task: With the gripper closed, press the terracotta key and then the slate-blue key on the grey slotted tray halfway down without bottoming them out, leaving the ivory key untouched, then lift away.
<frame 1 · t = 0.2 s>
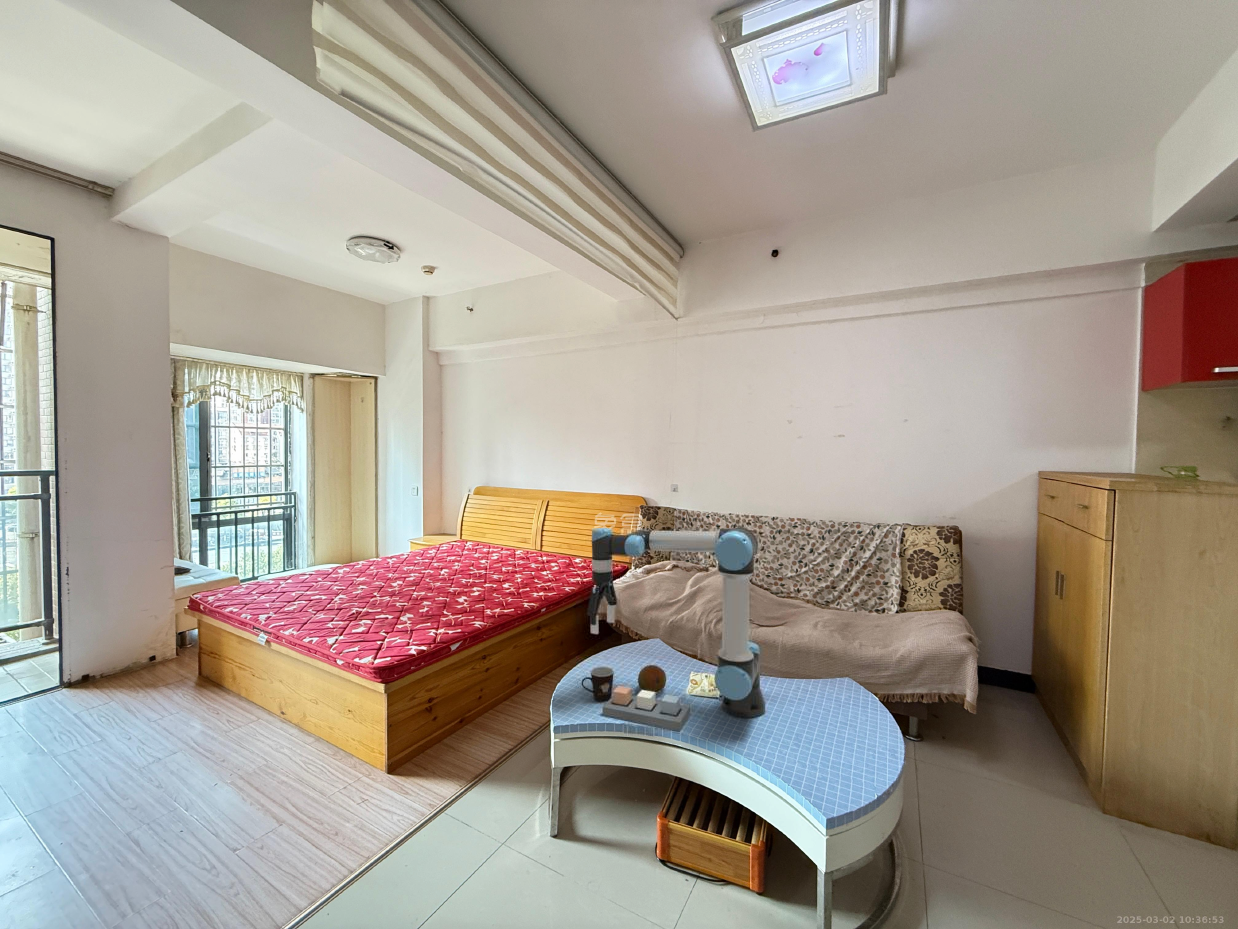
hand: (603, 627, 186), 27 cm above the table, fingers open, 13 cm apart
key ivory: (646, 699, 175), point 5 cm above the table, slide at 0.0 cm
coffee mug: (598, 698, 188), on the table
grey slotted tray: (646, 715, 175), on the table
key slate: (671, 704, 171), point 5 cm above the table, slide at 0.0 cm
key terracotta: (622, 695, 178), point 5 cm above the table, slide at 0.0 cm
fruit: (651, 691, 193), on the table
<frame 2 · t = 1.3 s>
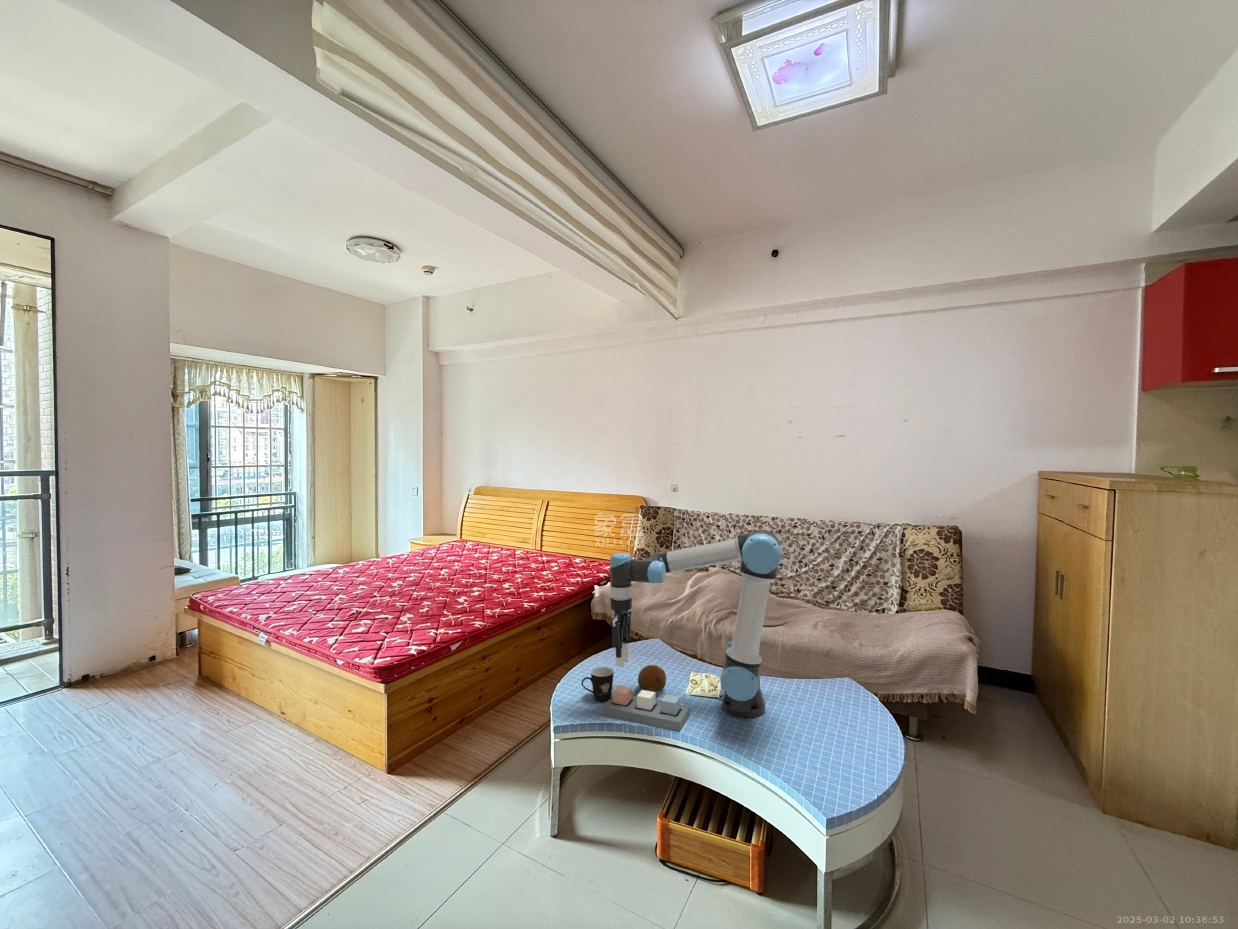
hand: (622, 663, 178), 17 cm above the table, fingers open, 3 cm apart
nothing on the table moved.
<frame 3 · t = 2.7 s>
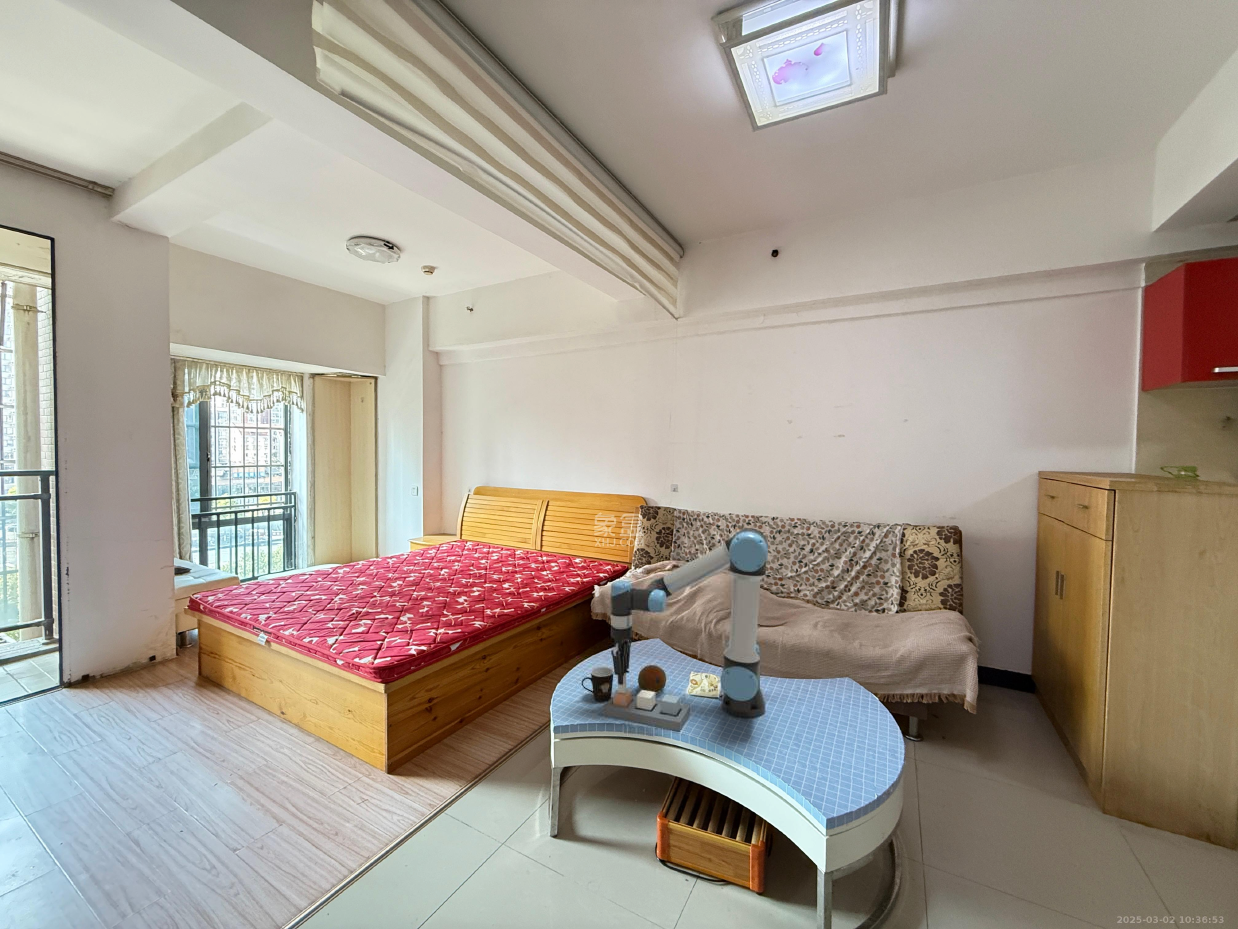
hand: (622, 692, 178), 6 cm above the table, fingers closed
key terracotta: (622, 698, 178), point 4 cm above the table, slide at 1.1 cm, touching gripper
everything else where it was.
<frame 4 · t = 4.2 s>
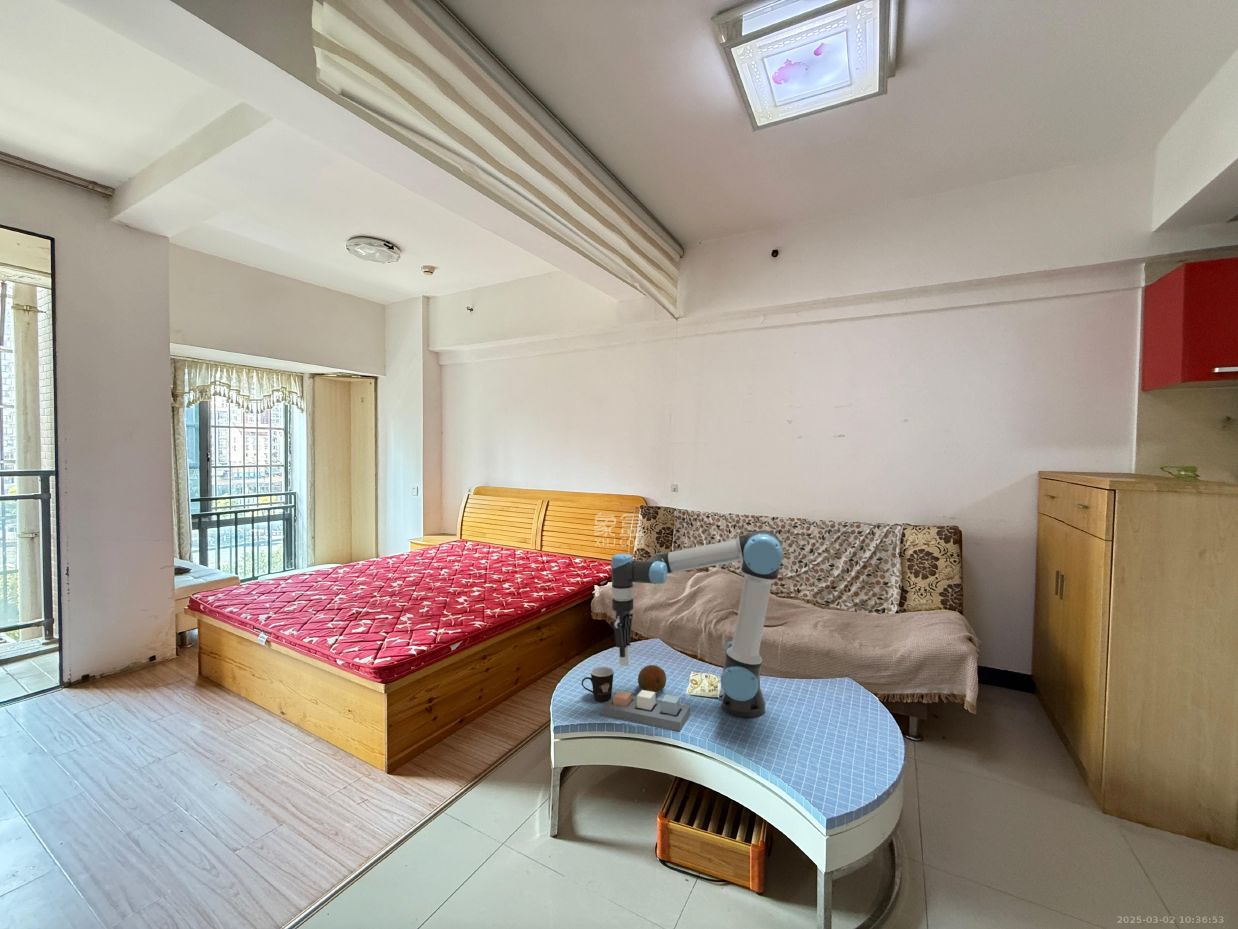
hand: (624, 665, 178), 16 cm above the table, fingers closed
key terracotta: (622, 700, 178), point 4 cm above the table, slide at 1.8 cm
everything else where it was.
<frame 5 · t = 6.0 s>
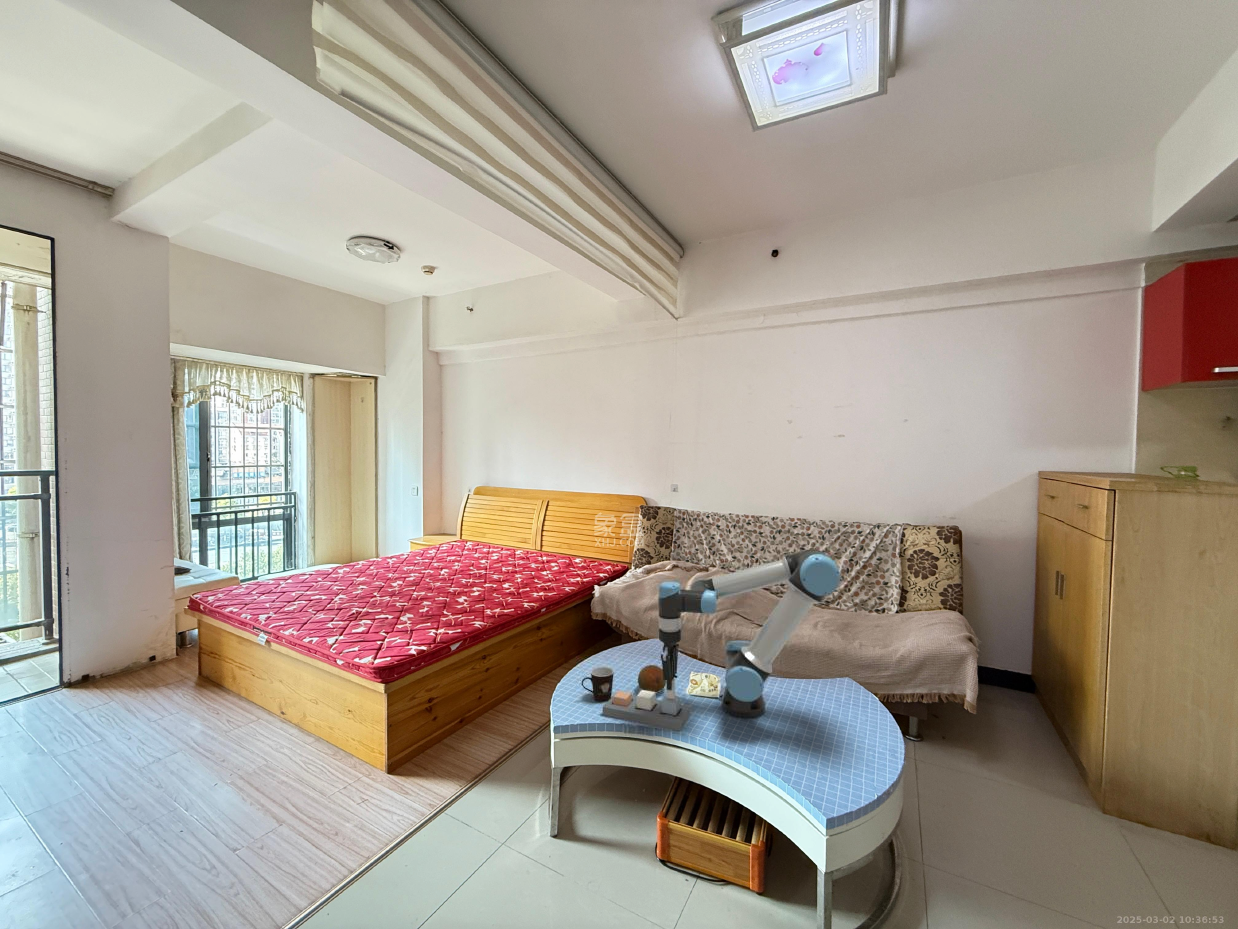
hand: (670, 697, 171), 8 cm above the table, fingers closed
key slate: (671, 704, 171), point 5 cm above the table, slide at 0.0 cm, touching gripper
everything else where it was.
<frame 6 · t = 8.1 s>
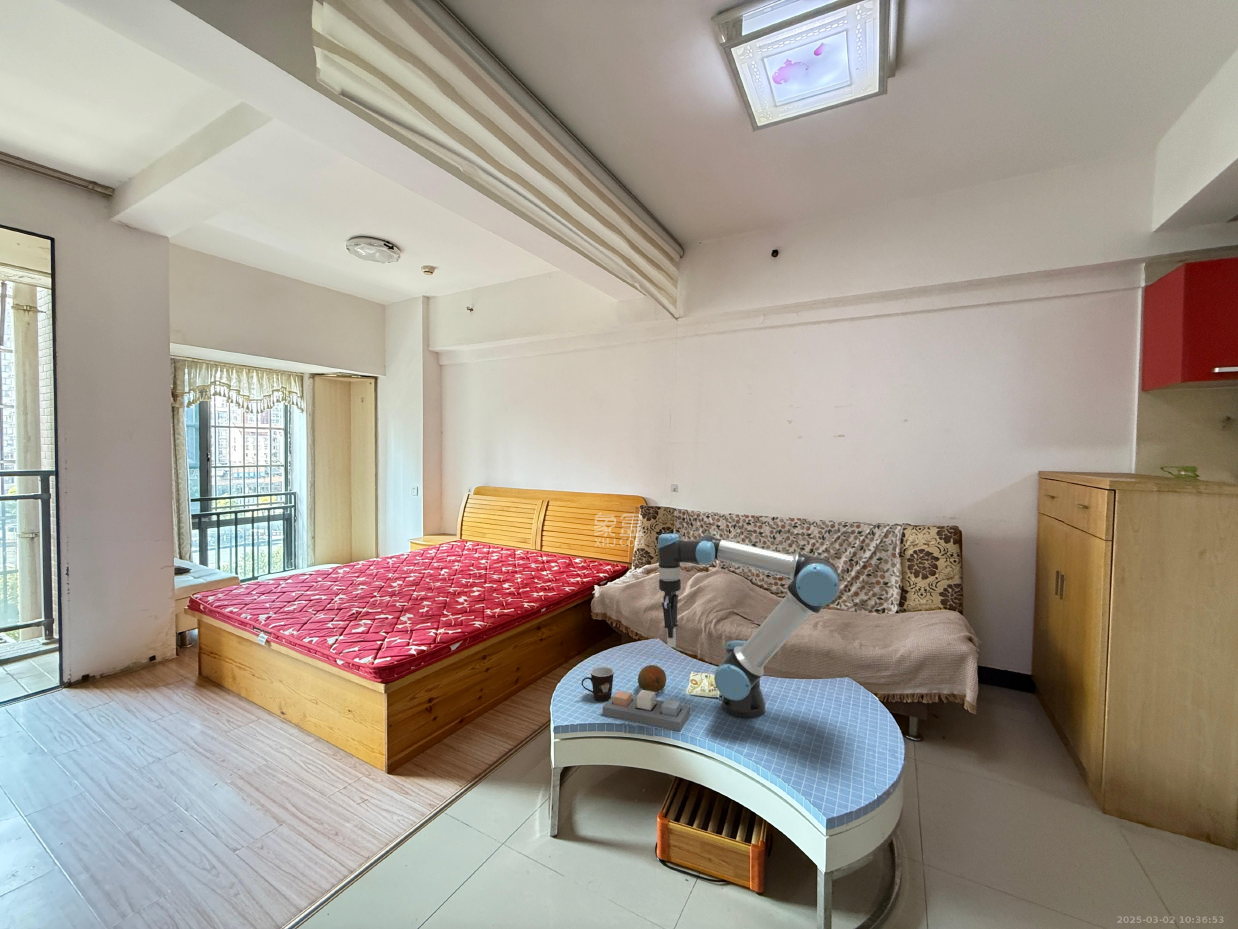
hand: (671, 646, 176), 23 cm above the table, fingers closed
key slate: (671, 709, 171), point 4 cm above the table, slide at 1.8 cm
everything else where it was.
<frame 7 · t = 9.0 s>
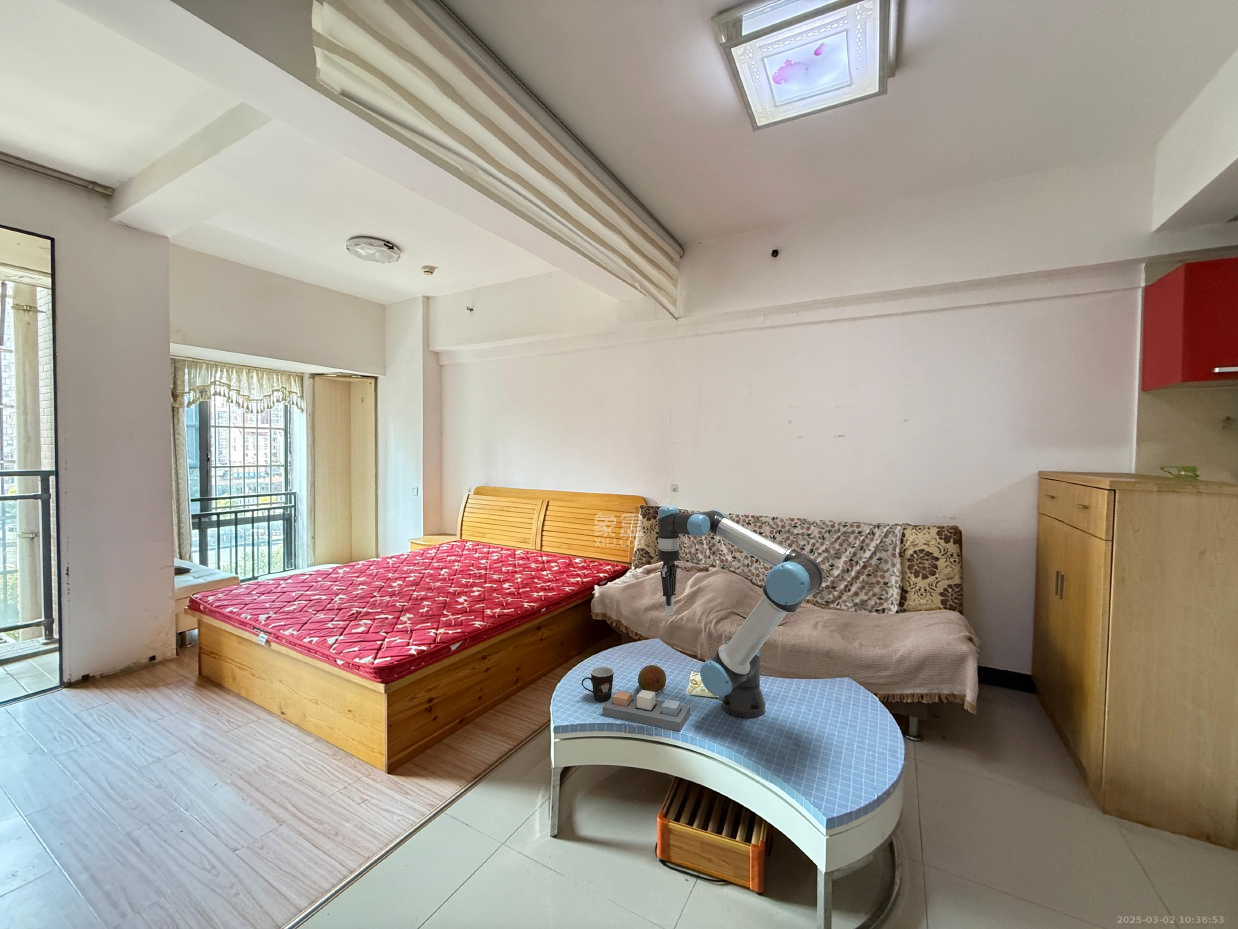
hand: (669, 613, 184), 32 cm above the table, fingers closed
nothing on the table moved.
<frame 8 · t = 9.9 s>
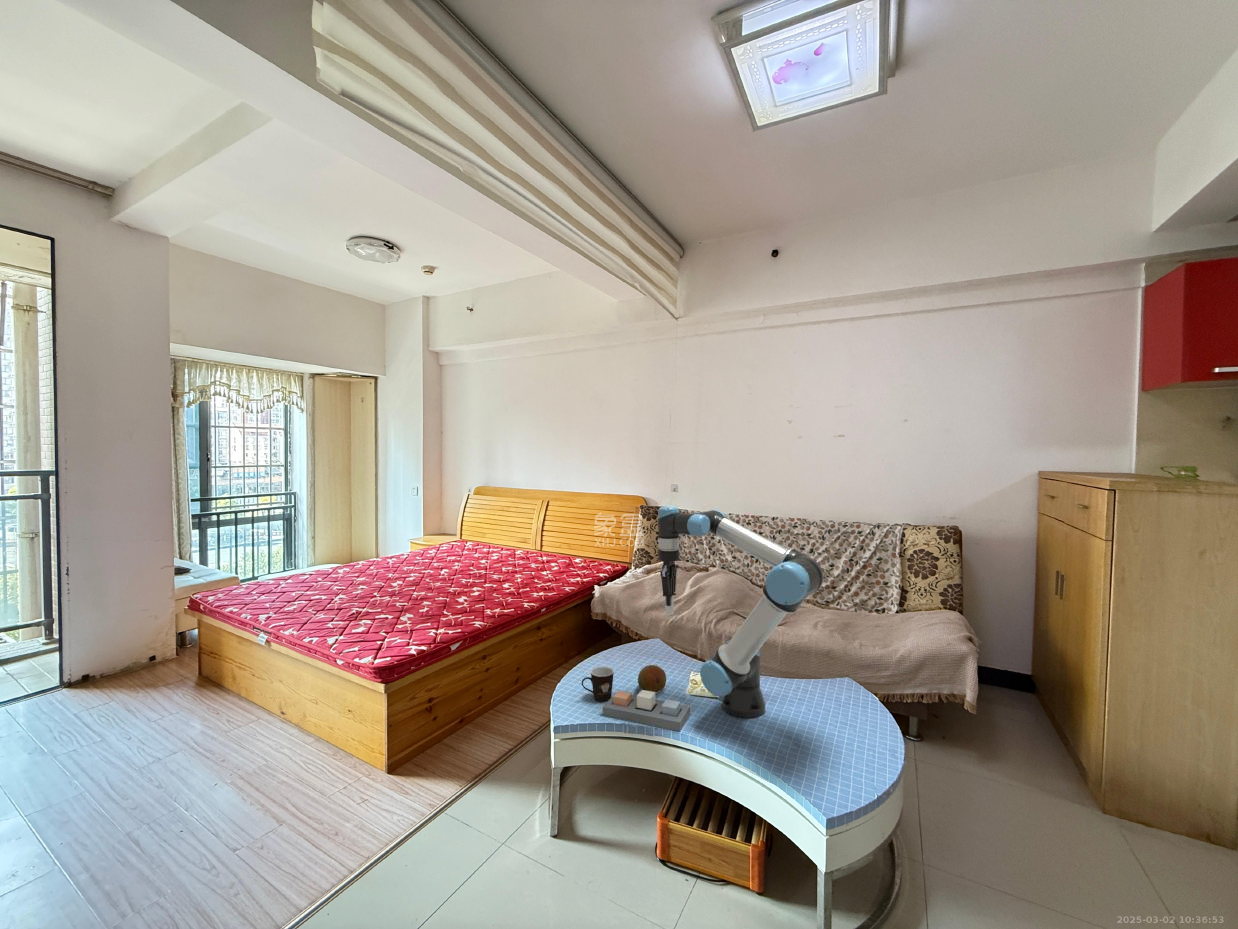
hand: (669, 613, 184), 32 cm above the table, fingers closed
nothing on the table moved.
at the end: key terracotta slide at 1.8 cm; key slate slide at 1.8 cm; key ivory slide at 0.0 cm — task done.
